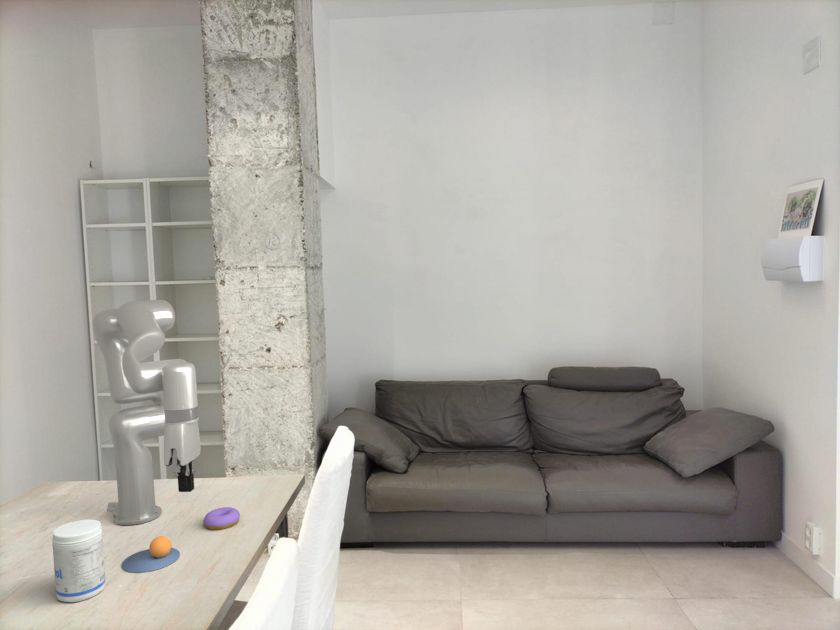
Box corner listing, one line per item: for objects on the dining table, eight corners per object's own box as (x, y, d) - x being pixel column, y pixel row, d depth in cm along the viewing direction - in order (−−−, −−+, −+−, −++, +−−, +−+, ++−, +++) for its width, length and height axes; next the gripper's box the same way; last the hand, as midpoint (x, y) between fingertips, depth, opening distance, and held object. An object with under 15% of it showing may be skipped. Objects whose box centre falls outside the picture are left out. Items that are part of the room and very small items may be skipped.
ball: (156, 531, 151) (157, 551, 148) (174, 533, 155) (176, 552, 152) (144, 541, 153) (145, 561, 150) (163, 542, 156) (164, 561, 153)
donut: (230, 531, 166) (225, 514, 166) (199, 537, 168) (195, 519, 168) (247, 516, 175) (243, 500, 175) (218, 522, 177) (214, 505, 177)
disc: (110, 572, 145) (110, 571, 145) (139, 547, 158) (139, 547, 158) (163, 572, 144) (163, 572, 144) (189, 547, 157) (189, 547, 157)
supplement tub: (49, 595, 136) (44, 529, 135) (95, 577, 143) (90, 515, 142) (67, 609, 130) (61, 540, 129) (113, 590, 137) (109, 525, 136)
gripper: (180, 408, 155) (185, 480, 157) (150, 423, 141) (155, 502, 142) (210, 407, 155) (214, 480, 156) (182, 422, 140) (187, 502, 141)
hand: (186, 490), depth 149 cm, fingers closed
